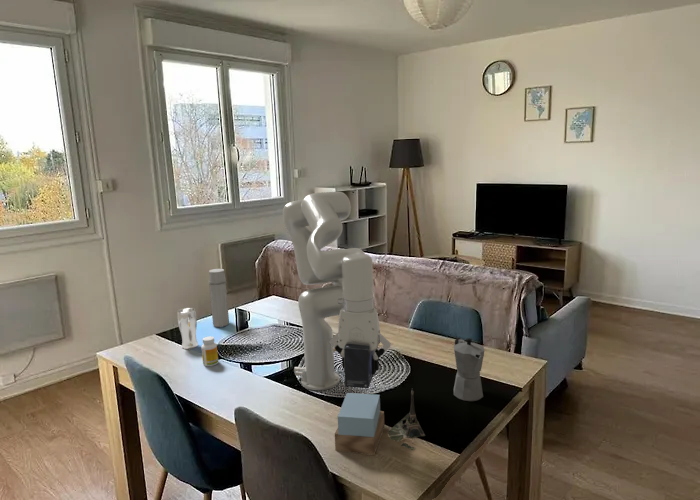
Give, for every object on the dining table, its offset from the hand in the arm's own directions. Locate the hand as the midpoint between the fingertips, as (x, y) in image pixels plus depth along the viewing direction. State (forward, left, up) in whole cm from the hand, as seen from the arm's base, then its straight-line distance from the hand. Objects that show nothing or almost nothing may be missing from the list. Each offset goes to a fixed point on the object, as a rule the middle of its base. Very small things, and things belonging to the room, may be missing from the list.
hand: (360, 370), depth 124 cm
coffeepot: (+26, +30, -19) cm, 44 cm away
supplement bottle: (-65, +34, -19) cm, 76 cm away
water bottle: (-82, +72, -19) cm, 111 cm away
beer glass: (-82, +47, -19) cm, 97 cm away
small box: (0, 0, -2) cm, 2 cm away
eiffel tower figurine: (+12, +6, -20) cm, 24 cm away
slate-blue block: (-1, 0, -15) cm, 15 cm away
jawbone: (-27, +57, -20) cm, 66 cm away
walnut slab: (-1, 0, -20) cm, 20 cm away
